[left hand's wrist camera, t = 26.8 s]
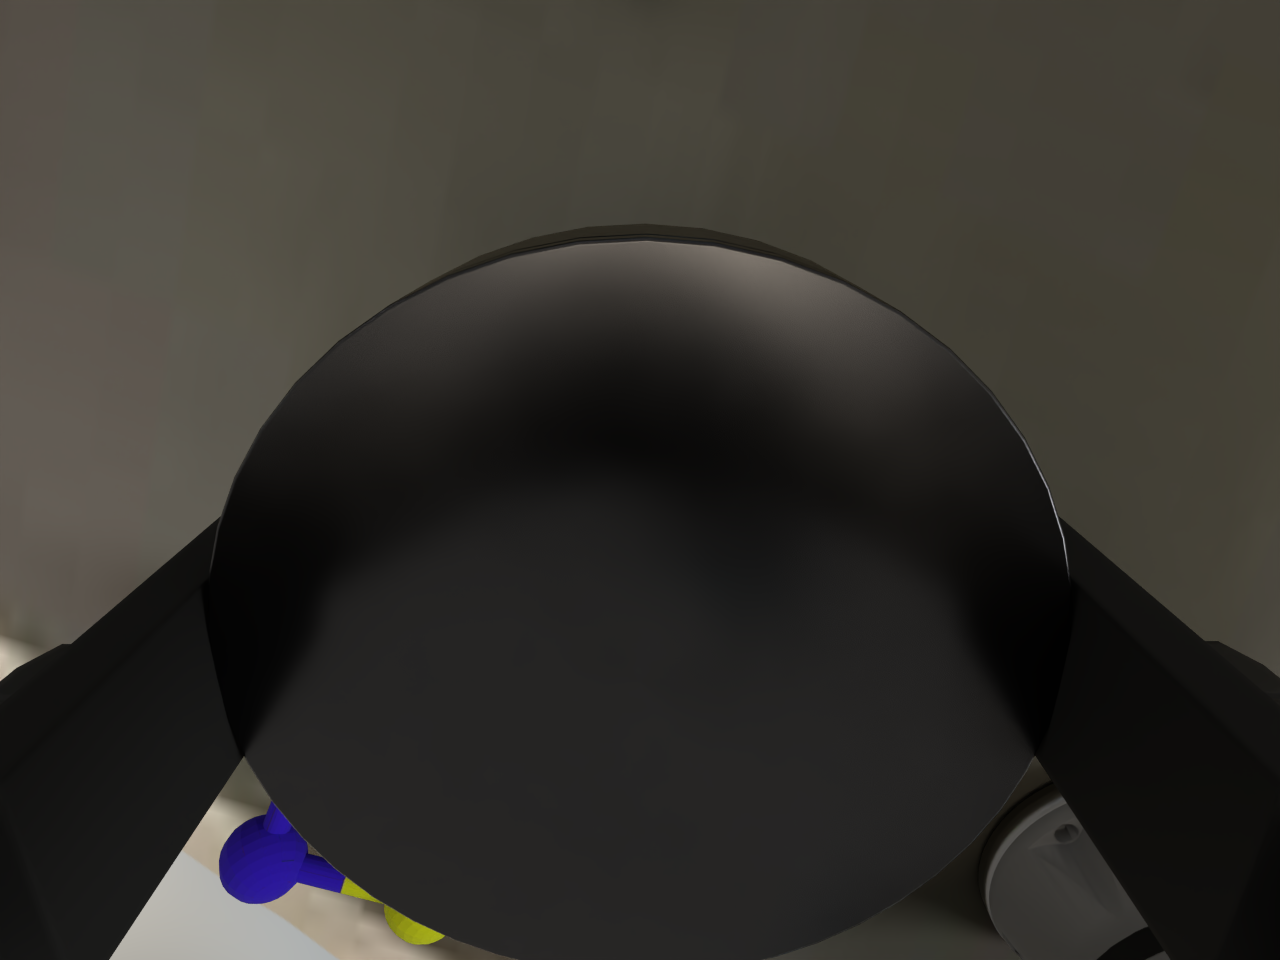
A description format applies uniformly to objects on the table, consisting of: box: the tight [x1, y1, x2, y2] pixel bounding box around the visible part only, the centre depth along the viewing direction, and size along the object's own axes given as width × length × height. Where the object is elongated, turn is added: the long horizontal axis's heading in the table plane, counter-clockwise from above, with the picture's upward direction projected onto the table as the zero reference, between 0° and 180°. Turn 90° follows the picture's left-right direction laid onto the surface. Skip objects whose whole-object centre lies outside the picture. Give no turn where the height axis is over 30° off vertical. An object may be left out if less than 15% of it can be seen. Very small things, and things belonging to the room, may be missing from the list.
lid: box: [208, 224, 1072, 960], centre depth 11 cm, size 11×11×2 cm
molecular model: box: [219, 801, 444, 944], centre depth 39 cm, size 15×12×15 cm
